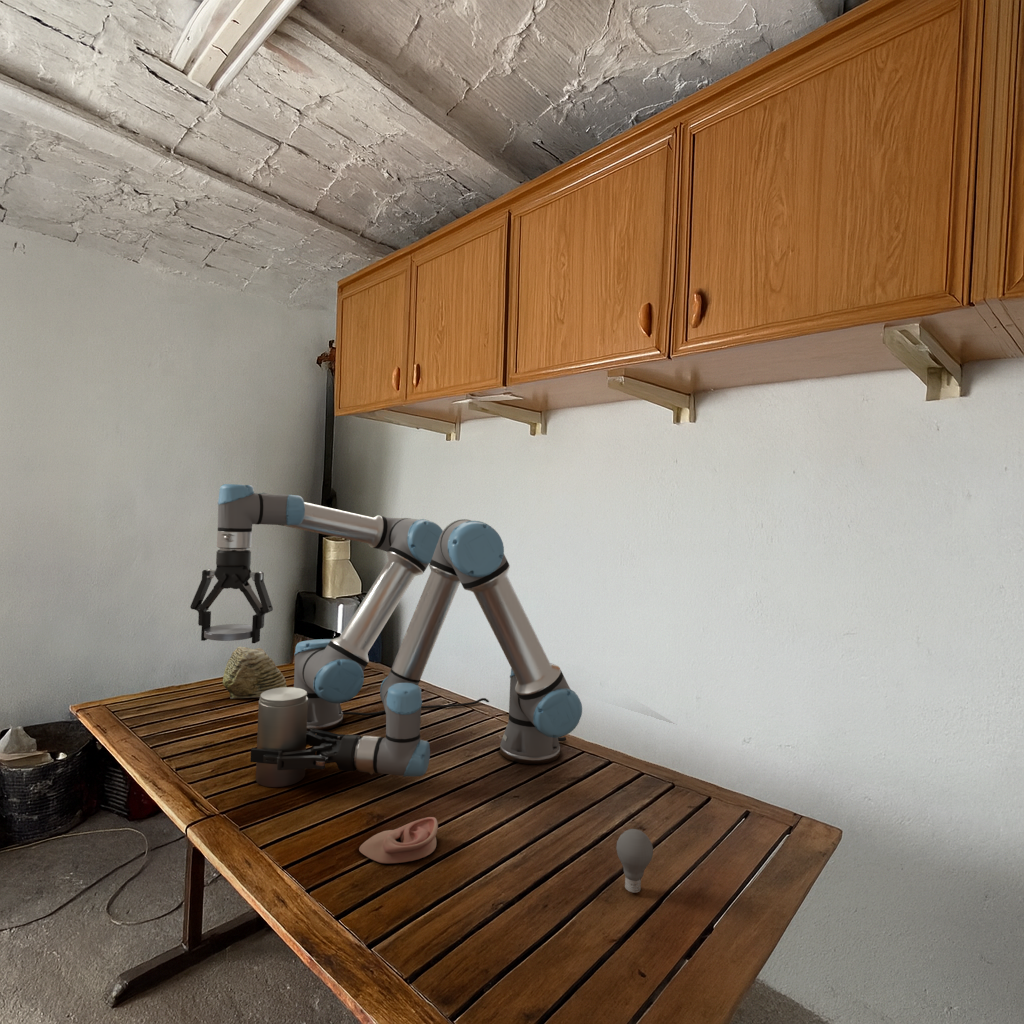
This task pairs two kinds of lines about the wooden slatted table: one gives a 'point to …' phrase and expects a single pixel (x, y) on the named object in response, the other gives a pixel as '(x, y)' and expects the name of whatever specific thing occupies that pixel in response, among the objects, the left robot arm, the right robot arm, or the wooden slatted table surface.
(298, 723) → the jar
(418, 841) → the anatomical model
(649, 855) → the light bulb
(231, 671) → the fossil
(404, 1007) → the wooden slatted table surface
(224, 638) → the lid
